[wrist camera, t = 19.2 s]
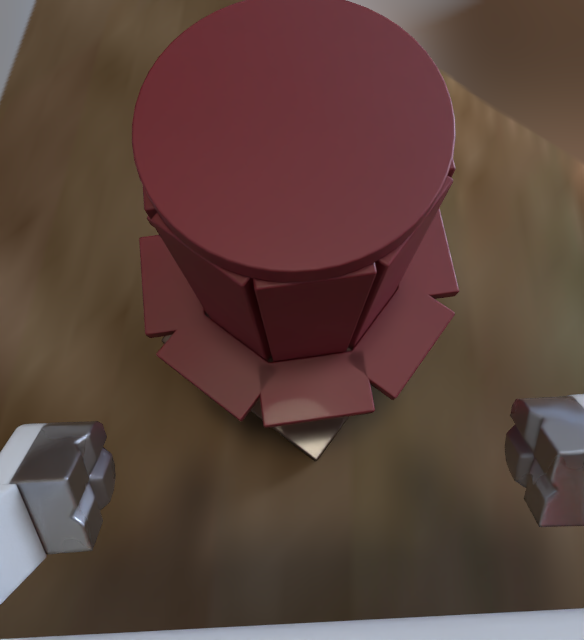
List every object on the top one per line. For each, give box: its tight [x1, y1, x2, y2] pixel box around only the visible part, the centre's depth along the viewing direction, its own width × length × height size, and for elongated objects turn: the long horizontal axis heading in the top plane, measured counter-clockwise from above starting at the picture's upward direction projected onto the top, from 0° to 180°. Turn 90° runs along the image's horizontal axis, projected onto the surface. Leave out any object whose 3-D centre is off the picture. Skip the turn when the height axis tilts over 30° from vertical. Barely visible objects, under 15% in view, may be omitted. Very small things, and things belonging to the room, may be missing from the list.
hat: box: [132, 0, 459, 428], centre depth 14 cm, size 10×10×8 cm
